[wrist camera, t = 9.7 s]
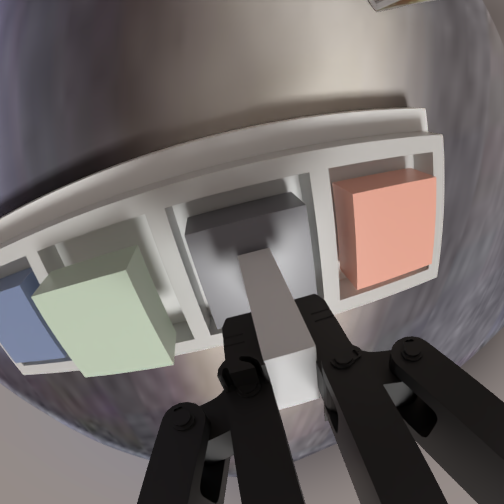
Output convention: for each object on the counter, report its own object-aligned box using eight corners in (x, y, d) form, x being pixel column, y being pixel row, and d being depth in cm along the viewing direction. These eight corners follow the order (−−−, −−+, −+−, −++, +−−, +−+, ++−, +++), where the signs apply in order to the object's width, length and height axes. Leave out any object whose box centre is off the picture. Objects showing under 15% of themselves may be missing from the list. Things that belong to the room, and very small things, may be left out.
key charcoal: (187, 217, 15) (184, 235, 13) (291, 191, 15) (305, 204, 13) (215, 302, 18) (217, 329, 15) (304, 279, 18) (318, 302, 16)
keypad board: (-26, 232, 15) (-54, 254, 11) (407, 107, 16) (445, 110, 13) (44, 356, 21) (30, 387, 17) (411, 267, 22) (438, 291, 18)
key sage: (50, 271, 13) (31, 296, 11) (137, 244, 13) (125, 269, 11) (95, 348, 15) (85, 377, 13) (176, 332, 16) (174, 364, 13)
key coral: (331, 182, 15) (352, 194, 13) (410, 167, 16) (436, 177, 13) (340, 269, 18) (357, 290, 16) (410, 247, 18) (431, 263, 16)
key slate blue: (-10, 282, 14) (-26, 301, 12) (37, 264, 15) (19, 285, 12) (27, 341, 17) (15, 363, 15) (76, 333, 17) (65, 357, 15)
